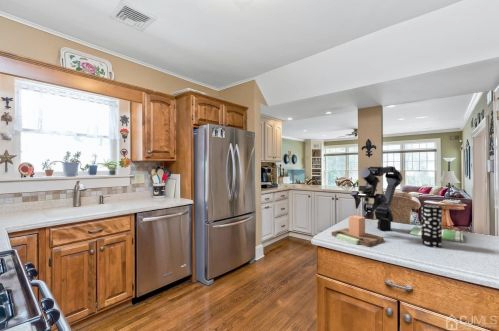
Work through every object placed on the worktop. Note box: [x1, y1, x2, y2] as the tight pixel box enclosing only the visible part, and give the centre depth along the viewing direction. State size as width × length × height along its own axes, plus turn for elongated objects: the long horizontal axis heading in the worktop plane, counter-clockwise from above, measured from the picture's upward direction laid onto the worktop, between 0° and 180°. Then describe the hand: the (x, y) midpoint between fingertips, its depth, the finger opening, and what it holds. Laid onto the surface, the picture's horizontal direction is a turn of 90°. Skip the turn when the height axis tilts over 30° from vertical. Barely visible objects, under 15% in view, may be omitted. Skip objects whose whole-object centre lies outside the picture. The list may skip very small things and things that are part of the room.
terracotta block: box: [348, 214, 366, 237], centre depth 133 cm, size 6×6×10 cm
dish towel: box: [409, 225, 465, 243], centre depth 138 cm, size 18×23×3 cm
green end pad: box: [336, 234, 359, 245], centre depth 129 cm, size 3×12×2 cm, turn 32°
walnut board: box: [331, 227, 384, 248], centre depth 133 cm, size 15×22×2 cm
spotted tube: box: [420, 204, 443, 249], centre depth 122 cm, size 8×8×20 cm
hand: (364, 210), depth 135 cm, fingers open, 9 cm apart
